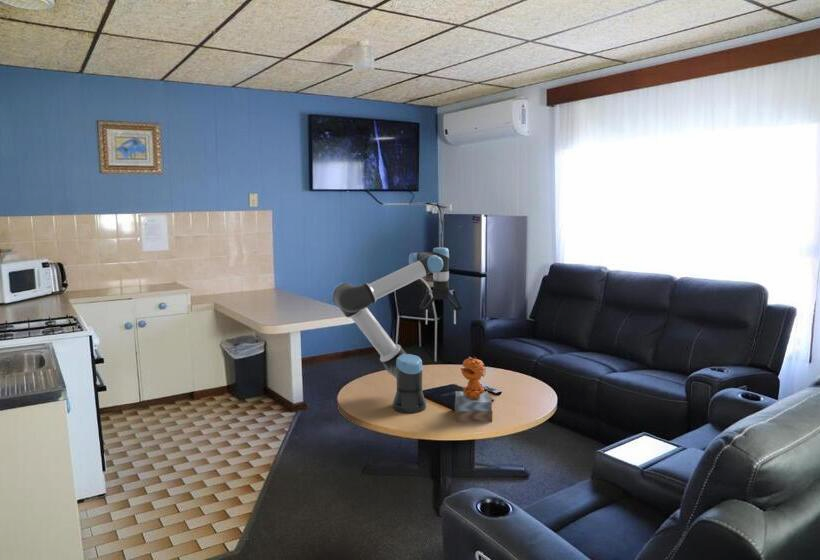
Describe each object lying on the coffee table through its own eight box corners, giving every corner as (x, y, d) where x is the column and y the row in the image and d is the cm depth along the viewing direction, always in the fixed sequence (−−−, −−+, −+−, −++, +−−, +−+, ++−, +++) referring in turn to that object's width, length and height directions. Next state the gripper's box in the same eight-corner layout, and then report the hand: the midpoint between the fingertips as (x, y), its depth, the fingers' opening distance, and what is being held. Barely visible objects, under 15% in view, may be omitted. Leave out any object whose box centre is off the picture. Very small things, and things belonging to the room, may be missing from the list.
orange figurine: (459, 392, 264) (460, 353, 262) (484, 392, 264) (484, 353, 261) (460, 400, 253) (461, 359, 251) (486, 401, 253) (486, 360, 250)
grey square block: (457, 421, 252) (457, 402, 251) (454, 409, 267) (454, 391, 266) (492, 421, 252) (492, 402, 251) (487, 409, 267) (488, 391, 266)
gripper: (466, 279, 285) (465, 322, 288) (414, 279, 286) (414, 322, 288) (467, 281, 278) (467, 325, 281) (414, 281, 278) (414, 325, 281)
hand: (440, 323), depth 285 cm, fingers open, 13 cm apart
